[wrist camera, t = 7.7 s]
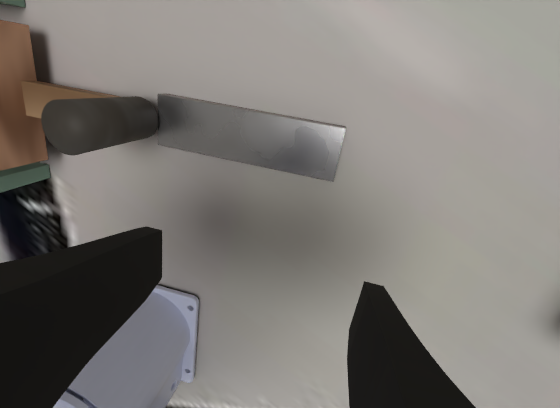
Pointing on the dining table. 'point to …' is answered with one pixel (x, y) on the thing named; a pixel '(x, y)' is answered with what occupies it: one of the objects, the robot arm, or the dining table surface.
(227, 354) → the dining table surface
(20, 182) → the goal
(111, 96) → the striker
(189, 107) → the rail
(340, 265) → the dining table surface
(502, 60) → the dining table surface
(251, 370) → the dining table surface
